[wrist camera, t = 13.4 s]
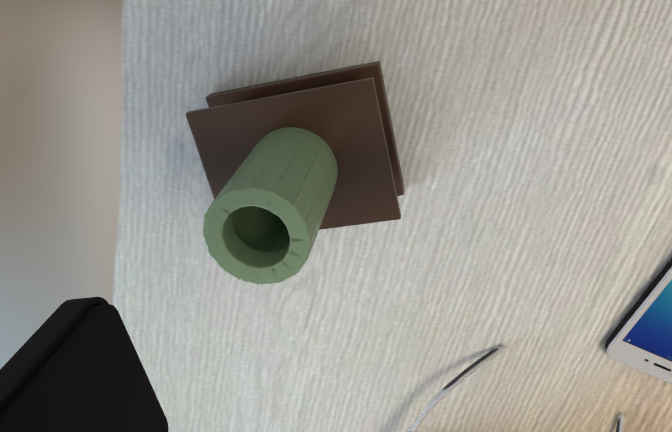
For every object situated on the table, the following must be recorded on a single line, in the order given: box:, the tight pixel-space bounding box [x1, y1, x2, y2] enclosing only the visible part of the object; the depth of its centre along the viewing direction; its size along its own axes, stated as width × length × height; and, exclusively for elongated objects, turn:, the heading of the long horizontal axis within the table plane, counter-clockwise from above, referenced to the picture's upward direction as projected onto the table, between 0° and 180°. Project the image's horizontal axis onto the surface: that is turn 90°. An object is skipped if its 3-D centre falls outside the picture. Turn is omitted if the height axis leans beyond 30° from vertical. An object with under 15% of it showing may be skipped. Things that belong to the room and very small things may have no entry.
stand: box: [186, 61, 405, 230], centre depth 36 cm, size 8×10×4 cm
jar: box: [203, 127, 338, 285], centre depth 31 cm, size 5×5×8 cm
